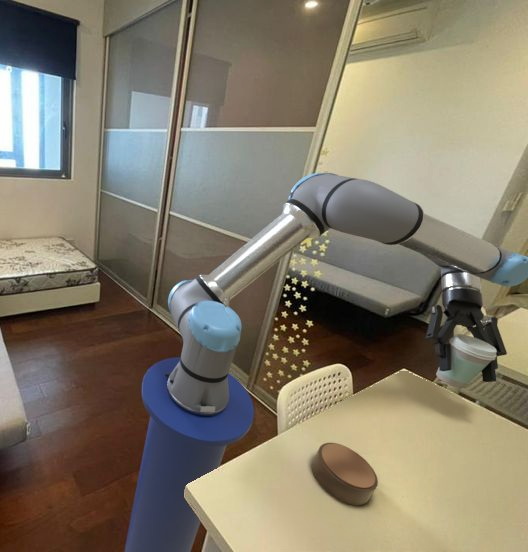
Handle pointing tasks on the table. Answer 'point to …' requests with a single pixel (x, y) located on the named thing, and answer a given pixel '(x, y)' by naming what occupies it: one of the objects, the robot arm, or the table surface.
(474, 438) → the table surface
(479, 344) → the coffee cup
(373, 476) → the cup stand
